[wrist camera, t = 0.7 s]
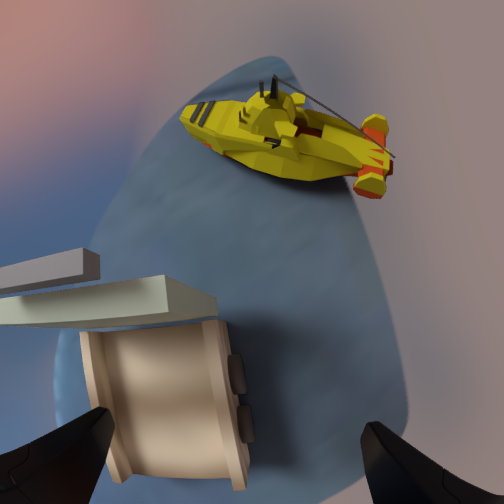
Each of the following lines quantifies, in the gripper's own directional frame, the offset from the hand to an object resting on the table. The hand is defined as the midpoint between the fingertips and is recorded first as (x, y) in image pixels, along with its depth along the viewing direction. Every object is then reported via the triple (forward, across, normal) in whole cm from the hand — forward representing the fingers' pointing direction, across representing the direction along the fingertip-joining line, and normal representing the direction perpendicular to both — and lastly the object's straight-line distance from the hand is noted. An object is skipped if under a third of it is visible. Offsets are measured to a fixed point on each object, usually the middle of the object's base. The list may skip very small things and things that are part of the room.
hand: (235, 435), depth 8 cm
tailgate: (+11, +7, +1) cm, 13 cm away
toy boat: (+20, -3, -10) cm, 22 cm away
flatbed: (+10, +5, +8) cm, 14 cm away
